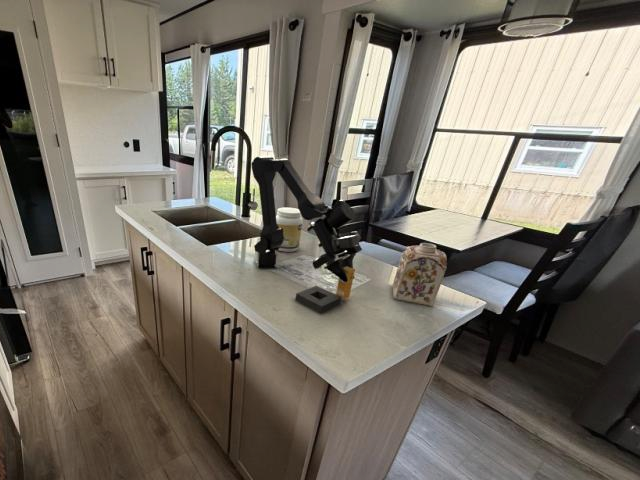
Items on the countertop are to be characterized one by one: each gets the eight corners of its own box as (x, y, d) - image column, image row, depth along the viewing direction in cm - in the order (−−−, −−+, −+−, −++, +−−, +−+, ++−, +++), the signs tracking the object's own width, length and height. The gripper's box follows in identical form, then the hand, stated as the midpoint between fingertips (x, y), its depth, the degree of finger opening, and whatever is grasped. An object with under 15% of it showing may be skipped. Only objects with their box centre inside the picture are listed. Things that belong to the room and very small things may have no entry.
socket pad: (295, 300, 103) (296, 293, 102) (315, 292, 109) (316, 285, 108) (320, 313, 97) (321, 306, 96) (340, 304, 103) (341, 297, 102)
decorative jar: (432, 307, 103) (453, 253, 95) (393, 299, 107) (409, 247, 98) (427, 291, 113) (445, 241, 105) (392, 285, 117) (406, 236, 108)
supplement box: (340, 293, 108) (347, 265, 103) (349, 297, 106) (356, 269, 101) (334, 296, 106) (340, 267, 101) (343, 300, 104) (349, 271, 99)
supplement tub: (300, 253, 141) (306, 214, 133) (272, 252, 141) (276, 212, 133) (296, 244, 152) (301, 207, 144) (270, 242, 152) (274, 206, 144)
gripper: (327, 227, 92) (352, 277, 90) (363, 219, 102) (386, 263, 101) (302, 246, 101) (324, 291, 99) (337, 236, 111) (358, 277, 110)
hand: (349, 280), depth 102 cm, fingers closed on supplement box, 3 cm apart
